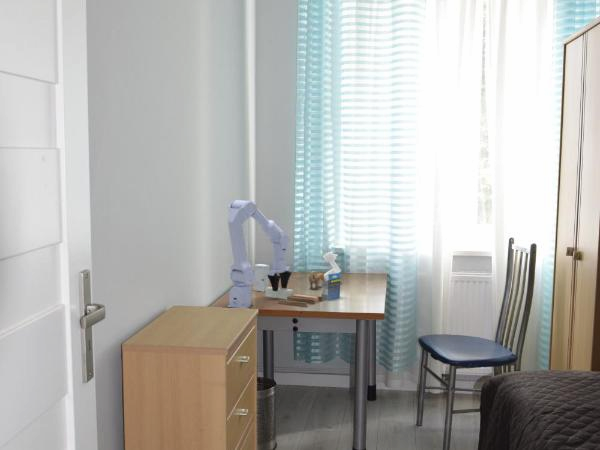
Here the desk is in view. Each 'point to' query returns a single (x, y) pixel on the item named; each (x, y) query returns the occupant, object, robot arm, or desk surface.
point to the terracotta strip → (306, 297)
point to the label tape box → (331, 287)
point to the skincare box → (261, 277)
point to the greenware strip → (279, 293)
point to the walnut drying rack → (300, 301)
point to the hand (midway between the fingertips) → (279, 289)
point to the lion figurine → (315, 279)
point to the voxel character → (330, 258)
